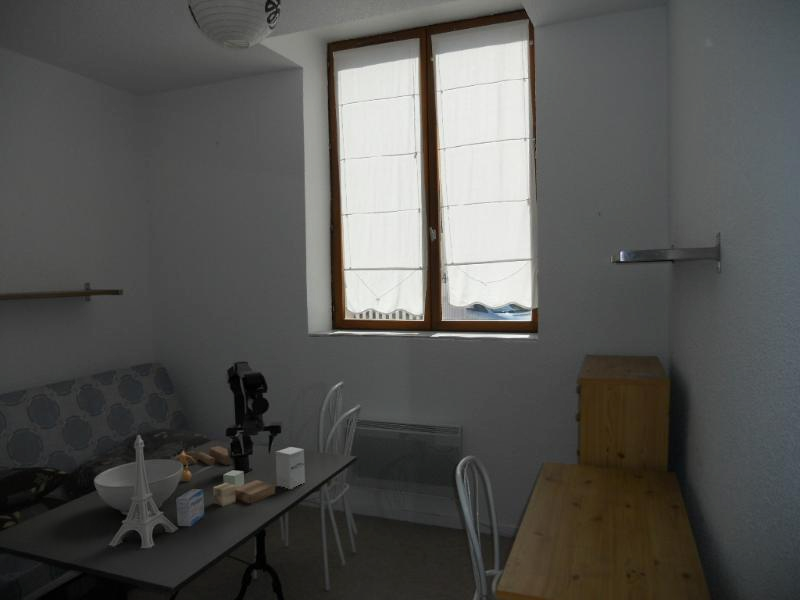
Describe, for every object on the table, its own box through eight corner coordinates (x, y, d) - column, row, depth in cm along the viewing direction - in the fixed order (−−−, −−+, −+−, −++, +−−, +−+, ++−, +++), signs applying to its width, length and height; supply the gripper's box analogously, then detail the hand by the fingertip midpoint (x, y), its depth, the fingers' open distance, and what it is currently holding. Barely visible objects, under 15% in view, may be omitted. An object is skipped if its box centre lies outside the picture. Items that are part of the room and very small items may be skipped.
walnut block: (233, 499, 193) (232, 488, 193) (256, 489, 201) (256, 479, 201) (251, 505, 187) (251, 494, 187) (275, 495, 195) (274, 485, 195)
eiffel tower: (108, 546, 161) (101, 441, 160) (140, 526, 174) (134, 428, 173) (148, 549, 157) (142, 442, 156) (178, 529, 170) (173, 430, 169)
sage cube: (223, 488, 203) (223, 474, 203) (233, 483, 208) (232, 470, 208) (235, 489, 201) (234, 475, 201) (244, 485, 206) (243, 471, 206)
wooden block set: (218, 442, 244) (236, 451, 231) (218, 455, 245) (237, 464, 231) (178, 451, 233) (195, 460, 220) (179, 465, 233) (196, 475, 220)
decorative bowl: (201, 495, 197) (199, 461, 196) (147, 528, 171) (145, 489, 171) (136, 490, 204) (135, 457, 204) (76, 522, 178) (73, 484, 178)
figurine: (198, 478, 215) (197, 447, 214) (194, 484, 209) (193, 451, 208) (175, 480, 214) (174, 448, 213) (171, 486, 208) (169, 453, 207)
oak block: (213, 503, 189) (213, 487, 189) (226, 498, 193) (225, 482, 193) (223, 506, 186) (222, 490, 186) (235, 501, 190) (234, 485, 190)
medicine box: (190, 527, 171) (189, 498, 171) (177, 526, 172) (175, 498, 172) (204, 516, 179) (203, 489, 178) (191, 515, 180) (190, 488, 179)
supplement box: (290, 490, 198) (288, 454, 198) (276, 486, 203) (274, 451, 203) (306, 483, 204) (304, 449, 204) (292, 480, 209) (290, 446, 208)
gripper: (220, 416, 187) (222, 462, 187) (277, 412, 188) (279, 459, 189) (228, 408, 198) (230, 452, 199) (282, 405, 199) (284, 449, 200)
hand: (256, 453), depth 196 cm, fingers open, 9 cm apart
